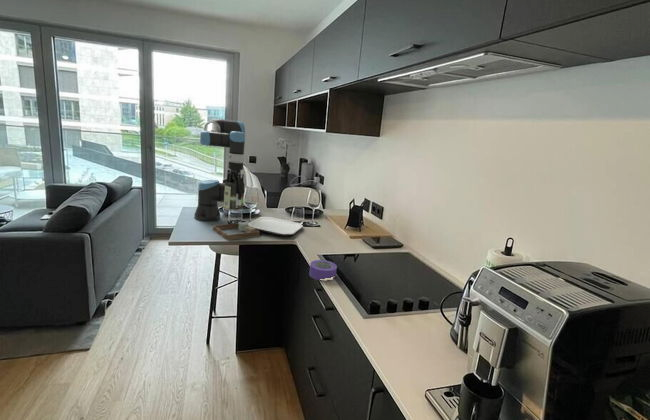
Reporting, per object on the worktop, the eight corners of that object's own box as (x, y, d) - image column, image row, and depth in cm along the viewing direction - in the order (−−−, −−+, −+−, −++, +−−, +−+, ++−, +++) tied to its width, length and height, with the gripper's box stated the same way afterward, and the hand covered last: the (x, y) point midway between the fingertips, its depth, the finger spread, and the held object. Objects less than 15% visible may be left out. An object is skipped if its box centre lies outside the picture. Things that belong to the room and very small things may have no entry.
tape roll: (308, 268, 153) (309, 258, 152) (333, 270, 155) (335, 260, 153) (309, 280, 142) (311, 269, 141) (337, 282, 143) (338, 271, 142)
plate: (242, 228, 192) (242, 224, 192) (263, 218, 220) (263, 215, 220) (290, 239, 187) (290, 235, 186) (305, 227, 214) (305, 224, 214)
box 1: (238, 229, 195) (238, 222, 194) (244, 228, 198) (245, 222, 197) (240, 231, 192) (241, 224, 191) (247, 230, 194) (247, 224, 193)
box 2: (244, 233, 189) (245, 227, 188) (250, 232, 192) (250, 226, 191) (249, 235, 186) (249, 229, 185) (254, 234, 189) (255, 227, 188)
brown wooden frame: (212, 229, 188) (213, 225, 188) (243, 226, 201) (244, 222, 200) (227, 240, 176) (227, 235, 175) (259, 235, 188) (259, 231, 188)
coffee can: (246, 208, 188) (247, 183, 184) (237, 212, 178) (239, 186, 174) (228, 204, 189) (230, 180, 186) (219, 209, 180) (221, 183, 176)
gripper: (219, 158, 183) (218, 197, 188) (239, 165, 167) (237, 208, 172) (232, 158, 188) (230, 197, 193) (253, 165, 172) (250, 207, 177)
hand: (233, 202), depth 183 cm, fingers closed on coffee can, 10 cm apart
